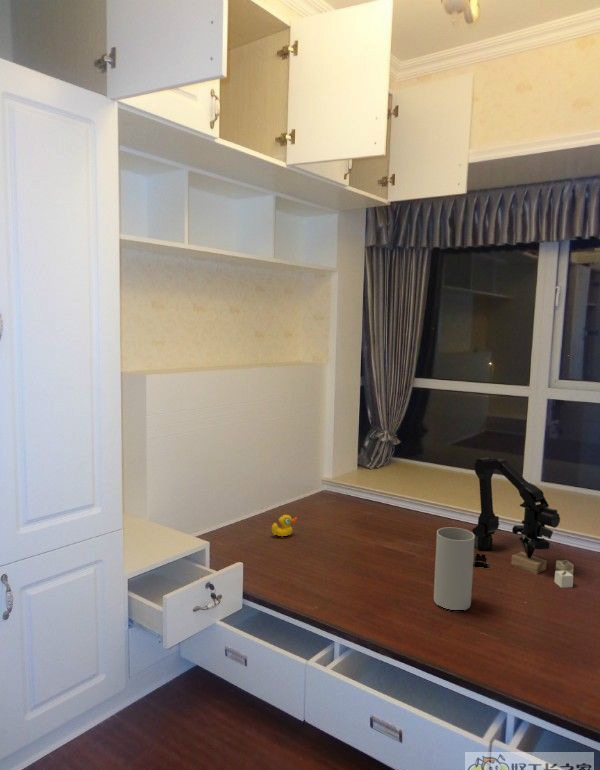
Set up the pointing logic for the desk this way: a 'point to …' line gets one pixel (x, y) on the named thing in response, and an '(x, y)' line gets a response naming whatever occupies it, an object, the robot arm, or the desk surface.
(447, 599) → the cylinder vase
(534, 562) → the tan wooden block
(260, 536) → the desk surface
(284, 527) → the duckling
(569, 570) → the pale birch block
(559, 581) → the off-white painted block
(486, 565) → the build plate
